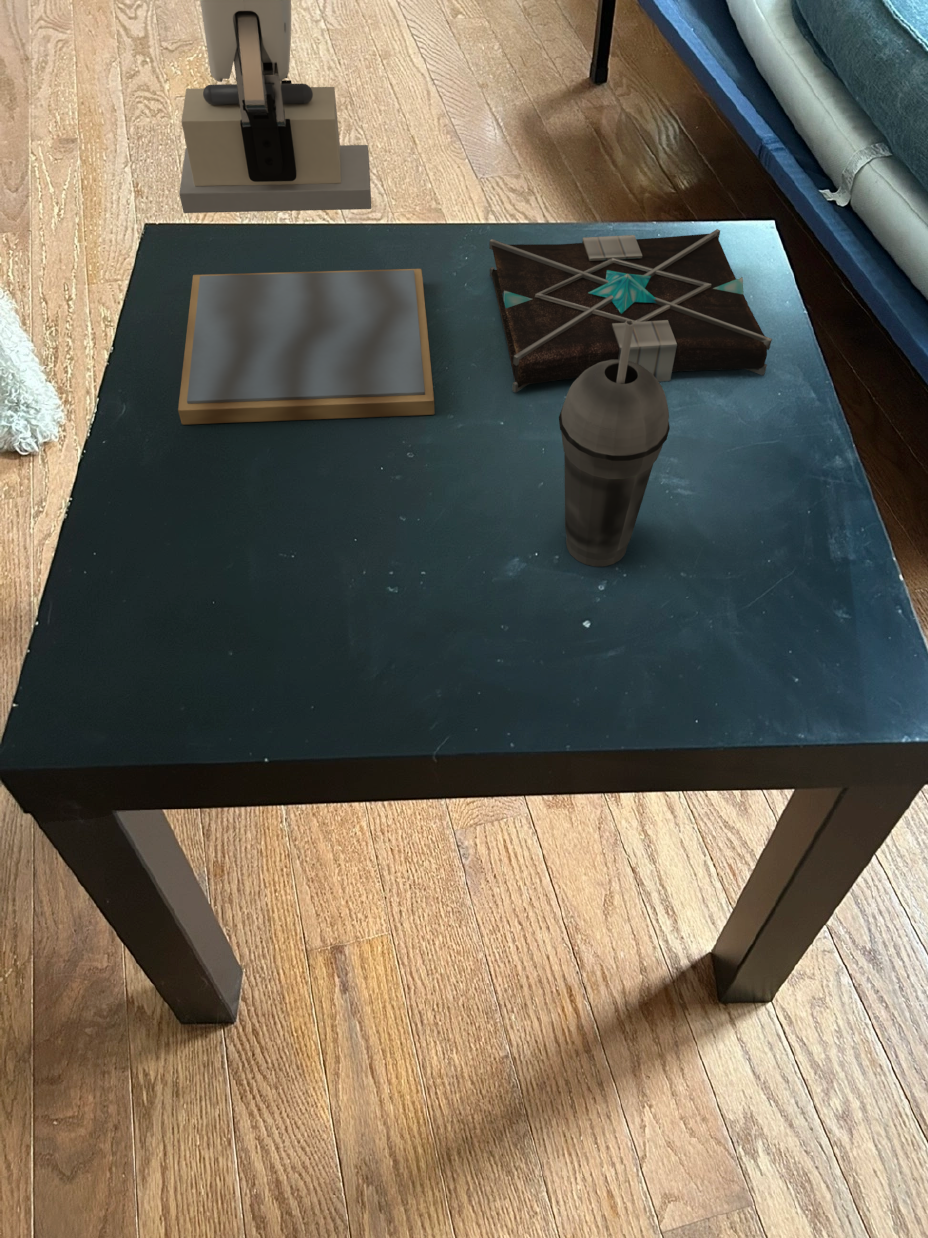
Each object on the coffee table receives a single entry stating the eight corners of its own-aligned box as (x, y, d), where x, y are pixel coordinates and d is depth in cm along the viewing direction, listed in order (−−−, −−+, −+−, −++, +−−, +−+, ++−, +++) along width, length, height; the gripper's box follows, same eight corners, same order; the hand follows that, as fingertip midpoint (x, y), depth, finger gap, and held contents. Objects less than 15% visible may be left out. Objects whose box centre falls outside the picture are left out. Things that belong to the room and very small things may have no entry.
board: (181, 425, 87) (177, 407, 86) (196, 289, 98) (192, 271, 96) (434, 415, 89) (434, 397, 88) (422, 283, 100) (421, 265, 98)
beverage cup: (647, 513, 83) (692, 279, 67) (644, 585, 79) (691, 354, 63) (551, 504, 83) (573, 268, 67) (543, 575, 79) (564, 342, 63)
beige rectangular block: (183, 213, 77) (160, 109, 71) (189, 167, 80) (168, 64, 74) (371, 209, 78) (364, 106, 72) (369, 164, 81) (362, 62, 75)
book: (512, 395, 91) (515, 344, 87) (484, 275, 101) (485, 224, 97) (765, 377, 93) (779, 327, 89) (714, 262, 103) (724, 212, 99)
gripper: (174, -206, 67) (226, 100, 82) (148, -97, 57) (212, 228, 72) (299, -204, 68) (328, 99, 82) (295, -96, 58) (329, 226, 73)
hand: (274, 156), depth 77 cm, fingers closed on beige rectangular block, 4 cm apart
